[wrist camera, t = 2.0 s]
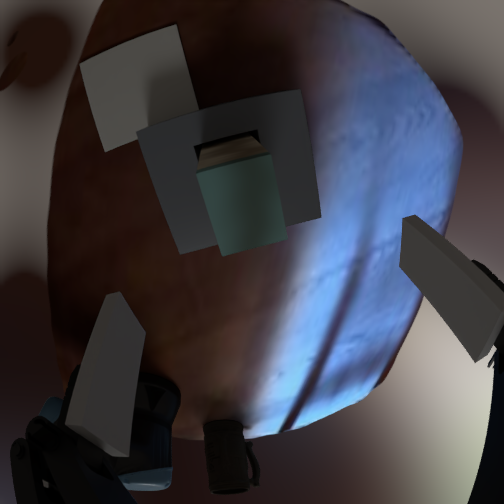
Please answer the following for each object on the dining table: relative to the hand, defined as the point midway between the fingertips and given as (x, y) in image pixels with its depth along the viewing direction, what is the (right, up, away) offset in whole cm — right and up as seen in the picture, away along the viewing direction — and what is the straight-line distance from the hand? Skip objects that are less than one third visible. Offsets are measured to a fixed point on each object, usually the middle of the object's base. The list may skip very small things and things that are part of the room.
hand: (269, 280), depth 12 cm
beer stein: (-6, -46, +54) cm, 72 cm away
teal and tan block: (-3, +12, +20) cm, 24 cm away
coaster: (-14, +20, +14) cm, 28 cm away
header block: (-3, +12, +20) cm, 24 cm away
